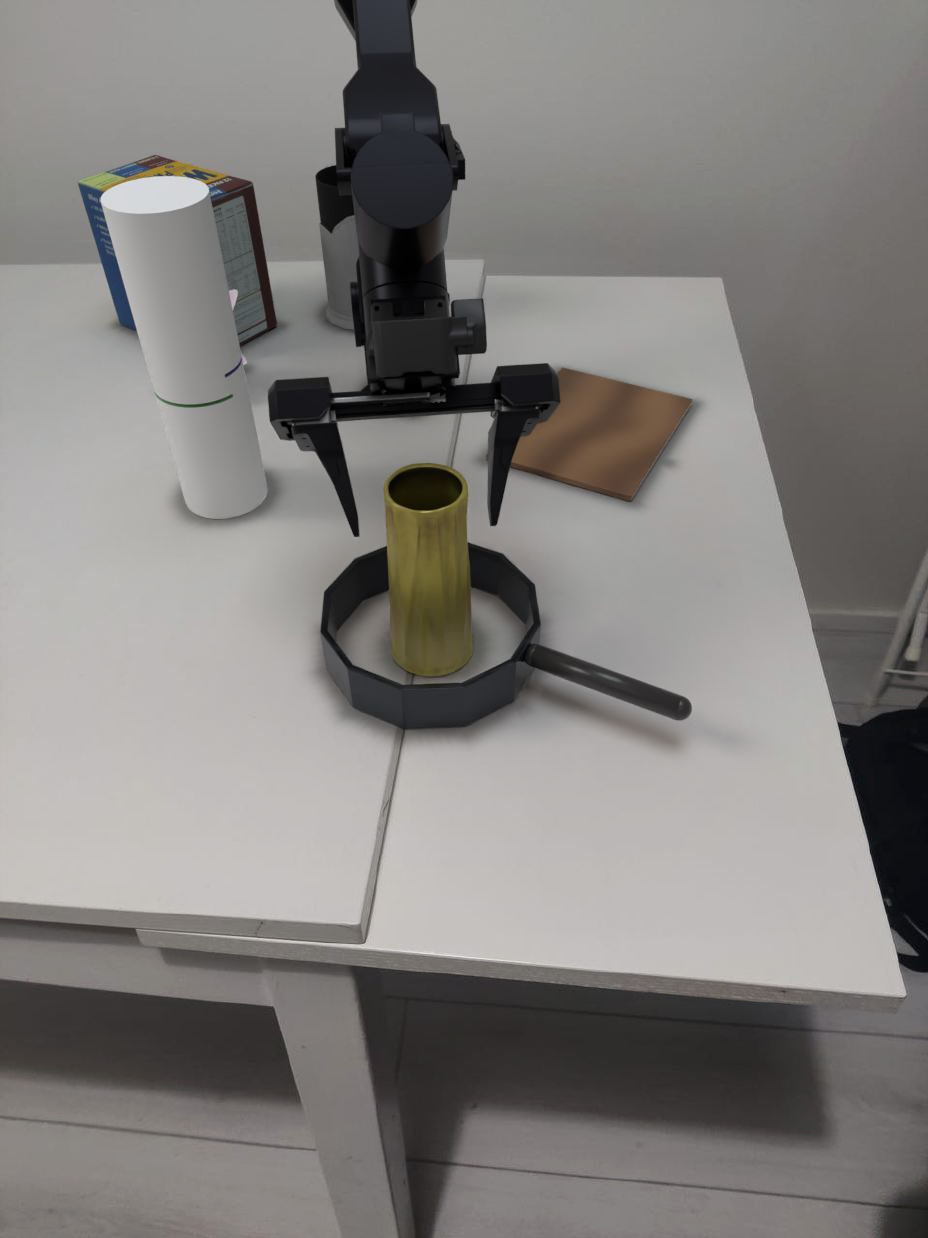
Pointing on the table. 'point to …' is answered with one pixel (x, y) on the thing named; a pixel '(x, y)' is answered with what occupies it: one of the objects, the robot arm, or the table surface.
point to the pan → (484, 690)
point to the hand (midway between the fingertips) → (425, 530)
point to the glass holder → (337, 246)
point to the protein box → (233, 228)
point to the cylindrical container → (188, 339)
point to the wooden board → (601, 434)
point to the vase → (428, 569)
